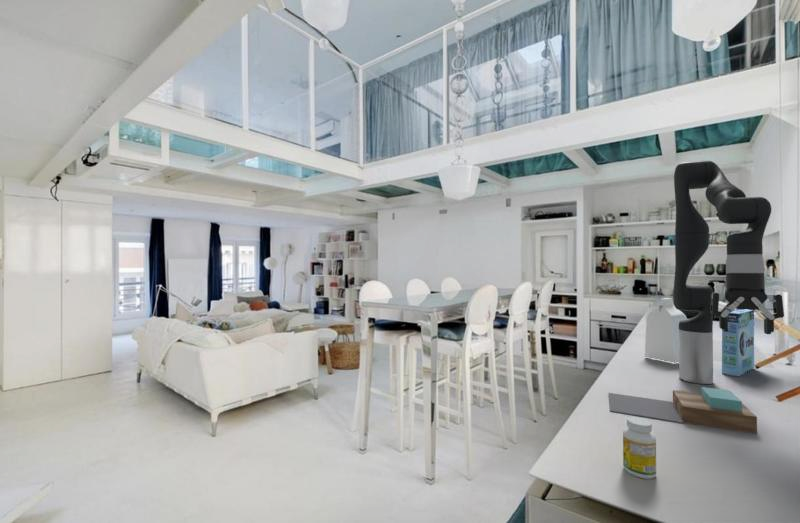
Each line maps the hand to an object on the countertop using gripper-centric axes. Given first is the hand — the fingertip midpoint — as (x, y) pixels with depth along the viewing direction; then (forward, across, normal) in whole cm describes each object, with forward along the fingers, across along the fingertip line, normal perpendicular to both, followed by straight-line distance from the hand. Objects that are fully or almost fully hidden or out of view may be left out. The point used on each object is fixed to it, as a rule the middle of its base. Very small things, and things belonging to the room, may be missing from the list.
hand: (745, 332), depth 98 cm
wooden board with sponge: (+22, +9, +6) cm, 25 cm away
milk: (+21, +9, -62) cm, 66 cm away
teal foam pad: (+17, +7, +7) cm, 19 cm away
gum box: (+21, -12, -54) cm, 59 cm away
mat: (+22, +24, +7) cm, 33 cm away
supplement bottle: (+23, +28, +46) cm, 58 cm away
